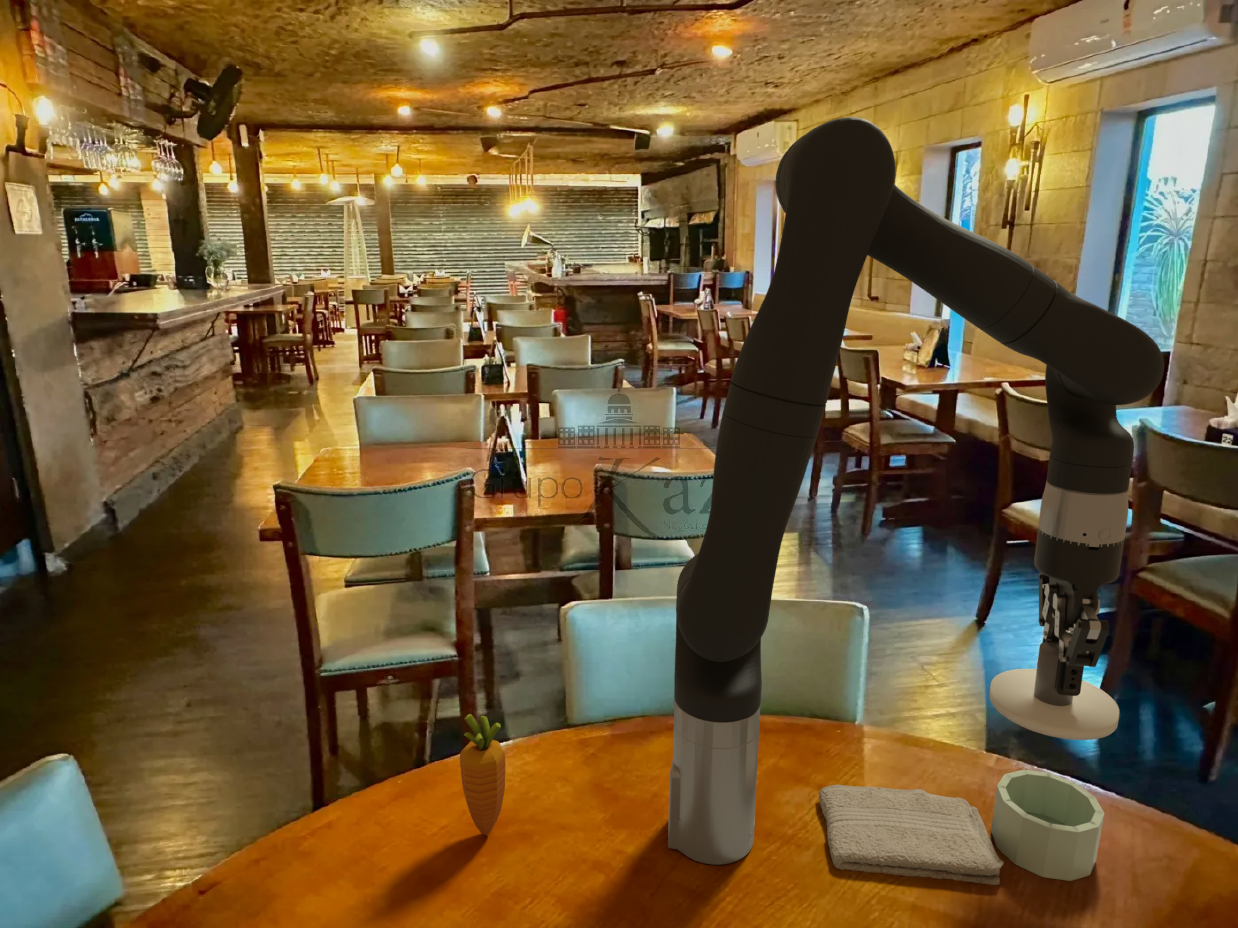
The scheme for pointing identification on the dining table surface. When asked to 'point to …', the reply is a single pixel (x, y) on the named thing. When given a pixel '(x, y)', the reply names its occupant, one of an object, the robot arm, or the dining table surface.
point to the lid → (1053, 701)
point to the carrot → (483, 774)
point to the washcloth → (908, 834)
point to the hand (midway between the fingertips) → (1060, 682)
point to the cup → (1047, 824)
